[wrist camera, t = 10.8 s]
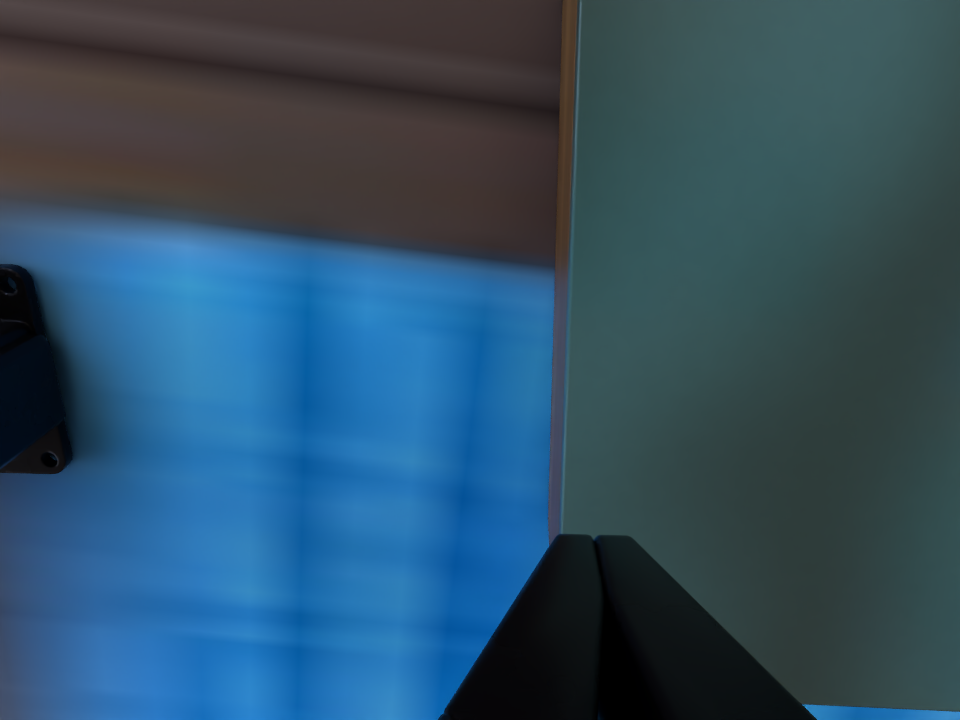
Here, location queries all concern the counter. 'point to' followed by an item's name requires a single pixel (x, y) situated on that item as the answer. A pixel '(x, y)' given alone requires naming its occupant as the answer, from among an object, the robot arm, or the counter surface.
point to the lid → (775, 326)
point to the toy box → (561, 257)
